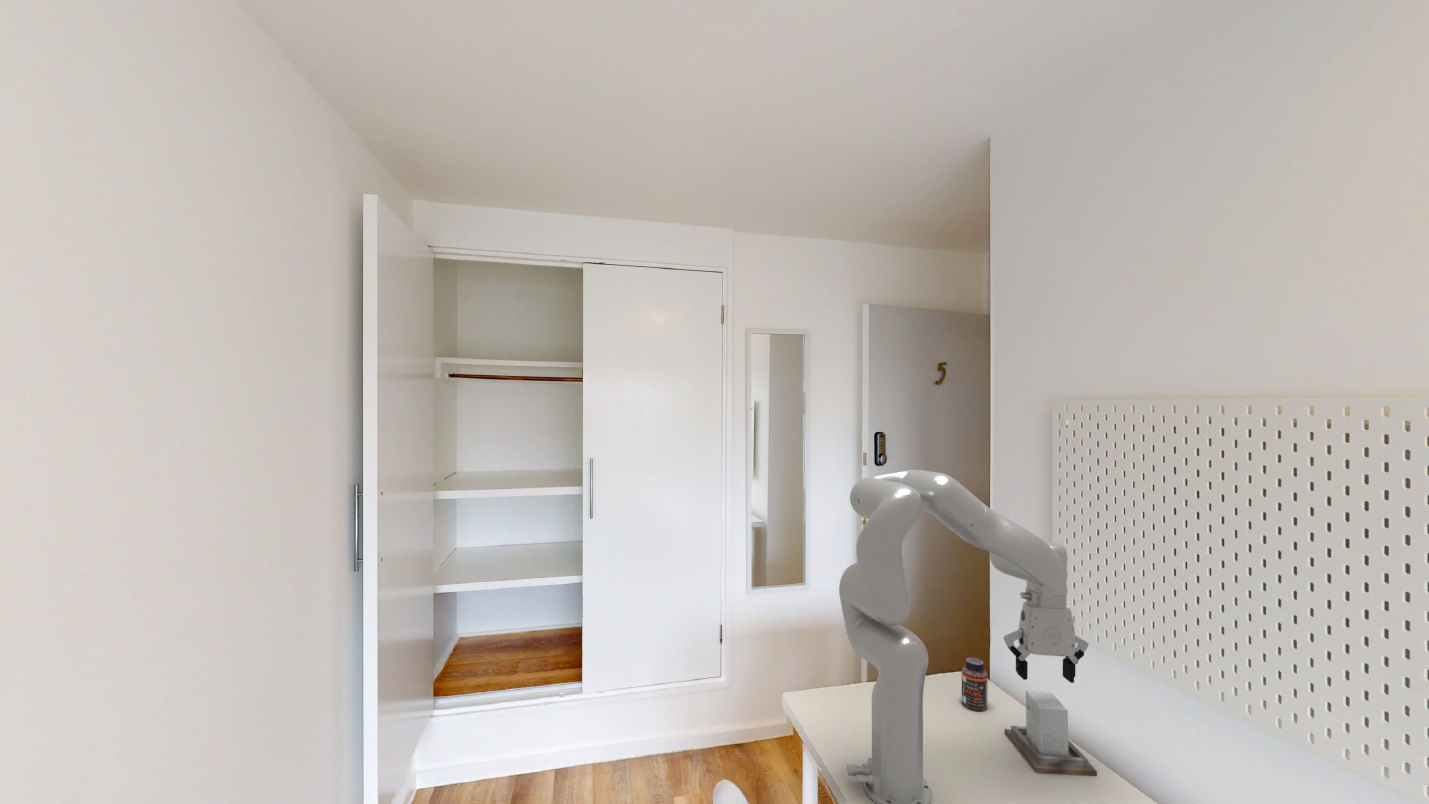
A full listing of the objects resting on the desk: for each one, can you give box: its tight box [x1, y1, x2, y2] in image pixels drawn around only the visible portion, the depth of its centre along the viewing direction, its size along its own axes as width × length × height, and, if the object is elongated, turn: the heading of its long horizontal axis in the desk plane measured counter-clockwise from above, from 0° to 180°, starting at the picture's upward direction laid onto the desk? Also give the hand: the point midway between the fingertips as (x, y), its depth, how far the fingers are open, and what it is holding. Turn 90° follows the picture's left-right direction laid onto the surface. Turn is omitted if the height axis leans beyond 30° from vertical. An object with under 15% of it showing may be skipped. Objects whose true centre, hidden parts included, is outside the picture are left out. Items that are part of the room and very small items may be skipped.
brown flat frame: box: [1004, 725, 1098, 777], centre depth 119 cm, size 12×14×2 cm
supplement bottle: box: [961, 657, 989, 712], centre depth 139 cm, size 6×6×11 cm
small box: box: [1025, 690, 1069, 757], centre depth 119 cm, size 8×6×10 cm
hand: (1045, 678), depth 119 cm, fingers open, 9 cm apart
